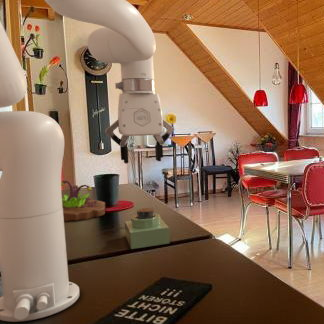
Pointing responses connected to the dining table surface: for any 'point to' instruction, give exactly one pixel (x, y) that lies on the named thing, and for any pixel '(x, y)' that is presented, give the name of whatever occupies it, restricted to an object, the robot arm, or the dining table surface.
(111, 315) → the dining table surface
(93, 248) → the dining table surface
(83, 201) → the plant
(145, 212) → the dark round button cap
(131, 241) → the button base
